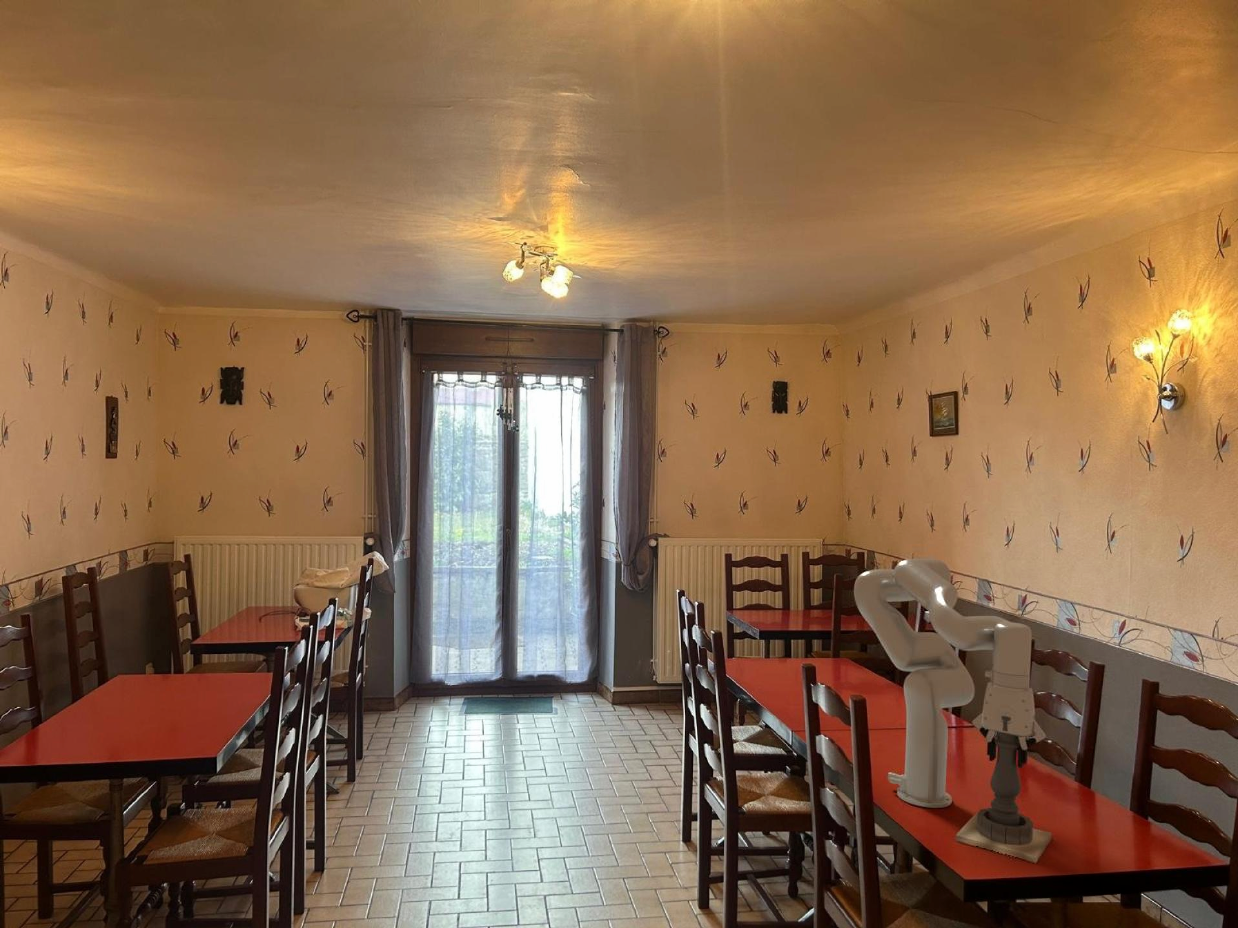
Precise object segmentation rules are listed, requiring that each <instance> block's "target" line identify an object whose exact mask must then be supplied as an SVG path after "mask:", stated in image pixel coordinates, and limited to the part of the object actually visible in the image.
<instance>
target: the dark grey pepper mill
mask: <svg viewBox="0 0 1238 928" xmlns="http://www.w3.org/2000/svg"><path fill="white" fill-rule="evenodd" d="M1001 719H1002V720H1003V721H1002V722H1003V731H1008V728H1007V724H1009V723H1011V722H1009V723H1007V722H1008V721H1011V718H1010V717H1006V716H1002V718H1001ZM996 736H997V737H995V743H996V744H997V751H996V763H995V765H994V769H993V772H992V776H991V779H990V788H991V790H992V792H993V793H994V794H993V797H994V798H993V799H992V800H991V801H990V807H989V808H990V809H989V820H991V821H993V822H995V823H998V824H1002V825H1006V826H1019V820H1020V815H1019V814H1020V813H1019V810H1020V808H1019V806H1018V805H1017V803H1016V800H1017V797H1018V796H1019V794H1020V793H1021V791H1022V790H1021V788H1022V785H1021V779H1020V775H1019V768H1018V763H1017V758H1018V750H1019V748H1020V746H1021V744H1020V741H1019V737H1018V736H1015V735H1010V734H1007V733H1000V732H997V733H996ZM1018 813H1019V814H1018Z"/></svg>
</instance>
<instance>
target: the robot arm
mask: <svg viewBox="0 0 1238 928" xmlns="http://www.w3.org/2000/svg"><path fill="white" fill-rule="evenodd" d="M951 582H952V573H951V570H950V567H948V565H947V564H946V563H945V562H943V561H942V560H941V559H940V560H939V559H937V558H907V559H904V560H902V561H900V562H898V563H897V565H895V567H894V569H893V568H892V569H890V568H889V569H883V568H881V569H880V568H879V569H871V570H867V571H864V572H862V573H860V574H859V575H858V576H857V578H856V579H855V582H854V586H853V595H854V601H855V604H856V607H857V609H858V611H859V613H860V614H861V616H862V617H863V618H864V620H865V622H867V624H868V625H869V626H870V627H871V629H872V631H873V632H874V633H875V635H876V637H877V639H878V641H879V642H880V644H881V646H882V647H883V649H884V651H885V652H886V654H887V656H888V657H889V659H890V661H891V662H892V663H893V665H894V666H895V667H896V668H897V669H898V670H900V671H903V672H910V673H909V674H908V675H907V676H906V677H905V679H904V681H903V694H904V700H905V707H906V730H905V732H906V734H905V736H906V737H905V757H904V758H905V759H904V760H905V761H904V774H903V773H902V774H901V775H900V774H897V773H895V772H890V771H889V772H888V774H887V780H888V782H889V783H890V784H893V785H898V788H897V789H896V794H897V796H898V798H900V799H901V800H902V801H904V802H906V803H907V804H911V805H914V806H918V807H924V808H930V809H942V808H946V807H947V808H948V807H949V806H950V805H951V804H952V800H953V798H952V796H951V795H950V794H949V793H948V792H946V785H947V784H946V783H947V781H946V779H947V761H948V760H947V759H948V758H947V757H948V735H949V733H948V724H947V721H946V719H945V717H944V715H943V712H942V709H946V708H955V707H961V706H965V705H968V704H969V703H971V702H972V700H973V699H974V697H975V691H976V689H975V683H974V681H973V678H972V676H971V675H970V673H969V671H968V669H967V667H966V666H965V665H964V664H963V662H962V660H961V659H960V657H959V655H957V653H956V652H955V651H956V650H955V649H954V648H953V647H955V648H956V649H958V650H961V651H966V652H968V651H971V652H972V651H981V650H982V651H983V650H985V651H992V667H991V670H985V671H984V676H985V677H987V678H989V679H990V681H989V682H987V685H986V688H985V692H984V698H983V706H982V712H981V713H980V714H978V716H977V717H975V718H974V719H973V720H972V721H971V722H972V725H973V726H974V727H975V728H976V729H977V730H978V731H979V733H981V735H982V737H984V739H985V741H986V742H987V744H986V745H987V747H986V749H987V750H986V755H987V756H989V757H988V760H989V761H990V762H993V761H995V759H997V749H998V746H997V744H996V743H995V739H996V736H997V732H1000V733H1007V734H1010V735H1015V736H1018V741H1019V742H1020V747H1019V748H1018V749H1017V768H1018V769H1019V768H1023V766H1024V765H1026V764H1027V762H1028V754H1029V753H1028V751H1029V750H1028V749H1029V748H1030V747H1032V746H1034V745H1035V744H1036V743H1038V742H1041V741H1042V740H1044V739H1045V738H1046V737H1047V736H1046V733H1045V732H1044V730H1043V729H1042V728H1041V726H1040V725H1039V724H1038V722H1037V720H1036V713H1035V712H1036V710H1035V698H1034V692H1033V688H1032V687H1030V680H1031V679H1030V678H1031V677H1030V676H1031V656H1032V634H1033V633H1032V630H1031V629H1032V628H1031V627H1030V626H1028V625H1026V624H1023V623H1018V622H1013V621H1009V620H1008V619H1005V618H1003V617H999V616H998V615H997V616H996V615H974V616H964V615H962V614H961V613H959V612H958V611H956V610H955V609H954V607H955V606H956V603H957V601H958V596H959V594H958V590H957V588H956V587H955V585H954V584H952V583H951ZM910 601H916V602H917V603H918V604H919V605H921V606H922V607H923V608H925V609H926V610H927V611H928V616H929V621H930V623H931V626H932V627H933V630H934V631H935V632H932V631H931V632H930V631H927V632H925V631H924V632H921V631H920V632H918V631H915V630H914V629H913V628H912V627H911V626H910V624H909V623H908V621H907V619H906V618H905V616H904V615H903V614H902V613H901V612H900V611H898V610H897V608H896V607H893V606H892V605H891V604H889V602H892V603H893V602H910ZM952 646H953V647H952ZM1002 716H1006V717H1010V718H1011V721H1008V722H1007V723H1009V722H1011V723H1009V724H1007V728H1008V731H1003V722H1002V721H1003V720H1002V719H1001V718H1002ZM1033 733H1035V735H1034V736H1031V735H1032V734H1033ZM1029 736H1031V737H1030V738H1029Z"/></svg>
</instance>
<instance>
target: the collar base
mask: <svg viewBox="0 0 1238 928" xmlns="http://www.w3.org/2000/svg"><path fill="white" fill-rule="evenodd" d="M990 808H991V807H988V808H981V809H980V810H979V811H977V813H974V814H973V816H971V818H970V819H969V820H968V821H967V822H966V823H965V824H964V825H963V827H962V828H961V829H959V831H958V832H957V833H956V834H955V841H956V842H959V843H962V844H966V845H969V846H974V847H976V846H979V847H978V848H980V847H981V848H980V849H983V848H986V849H985V850H987V849H988V851H990V850H993V851H992V852H994V851H995V852H996V853H997V852H999V853H998V854H1001V853H1002V855H1005V854H1007V855H1006V856H1008V855H1011V856H1010V857H1012V856H1014V857H1013V858H1015V857H1019V858H1021V859H1020V860H1022V859H1025V860H1024V861H1026V860H1027V861H1026V862H1029V861H1030V862H1029V863H1033V862H1034V863H1033V864H1037V863H1038V861H1039V860H1040V858H1041V856H1042V855H1043V853H1044V851H1045V850H1046V848H1047V847H1046V846H1048V845H1049V843H1050V842H1051V840H1052V834H1053V833H1052V832H1049V831H1044V830H1041V829H1037V828H1034V822H1033V821H1032V820H1031V819H1030V818H1029V817H1028V816H1026V815H1023V814H1022V813H1019V812H1017V813H1018V814H1019V815H1020V820H1019V826H1006V825H1002V824H998V823H995V822H993V821H991V820H989V809H990ZM995 852H994V853H995ZM1039 857H1040V858H1039ZM1019 858H1018V859H1019ZM1038 859H1039V860H1038ZM1036 862H1037V863H1036Z"/></svg>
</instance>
